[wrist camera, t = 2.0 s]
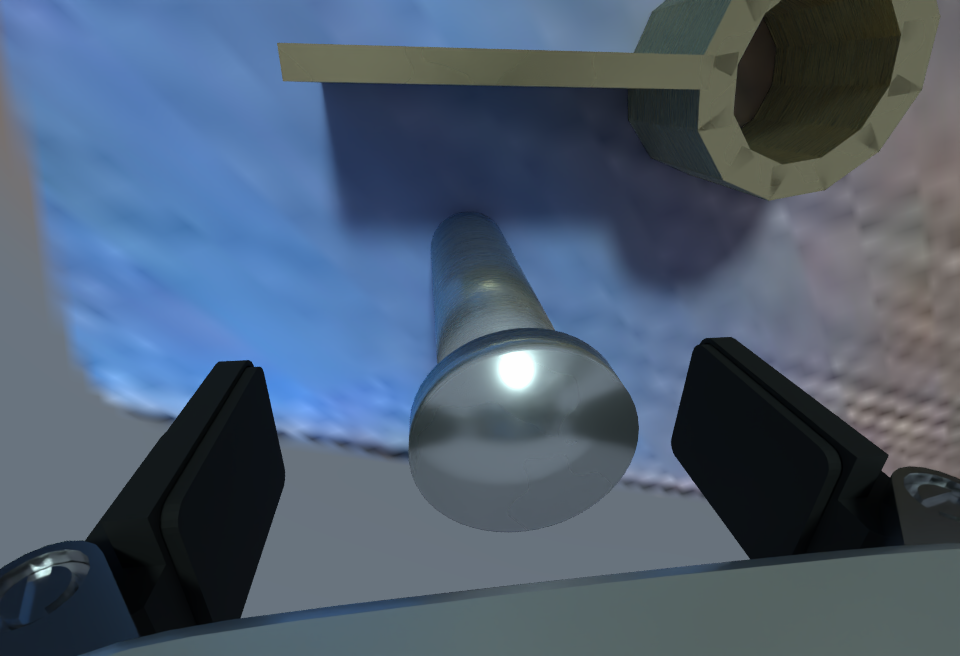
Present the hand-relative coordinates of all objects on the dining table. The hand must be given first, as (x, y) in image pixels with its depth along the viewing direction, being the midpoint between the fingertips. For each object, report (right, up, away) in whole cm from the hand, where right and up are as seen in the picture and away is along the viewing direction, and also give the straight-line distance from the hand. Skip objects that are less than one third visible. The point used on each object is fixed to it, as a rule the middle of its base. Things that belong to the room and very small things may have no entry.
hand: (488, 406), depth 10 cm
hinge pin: (-1, +5, +9) cm, 10 cm away
